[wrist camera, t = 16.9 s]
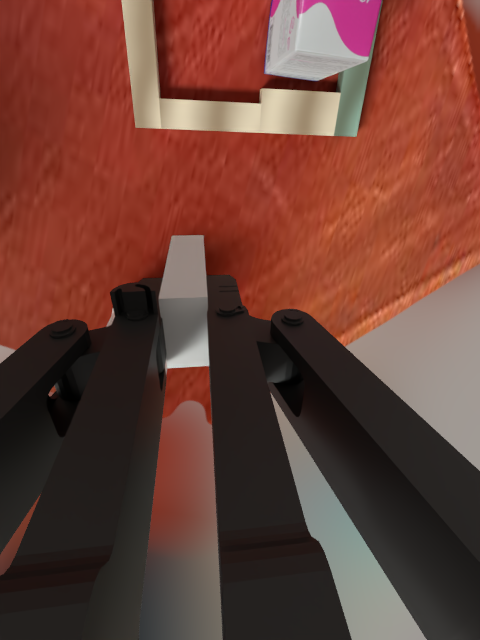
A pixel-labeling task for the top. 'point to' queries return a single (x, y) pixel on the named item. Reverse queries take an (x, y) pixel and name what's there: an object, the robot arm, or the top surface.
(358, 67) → the cream and green frame
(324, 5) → the supplement box
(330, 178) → the top surface
